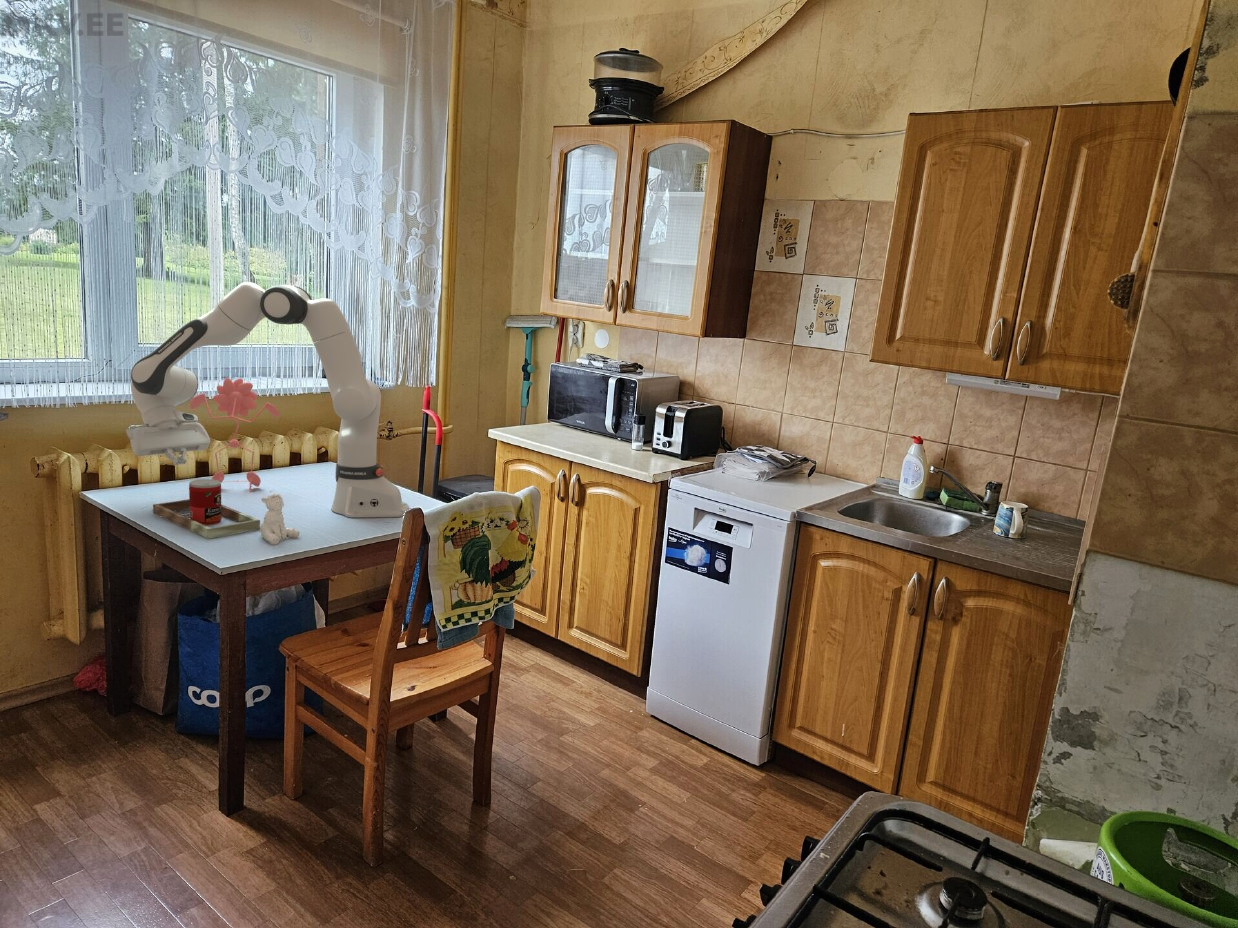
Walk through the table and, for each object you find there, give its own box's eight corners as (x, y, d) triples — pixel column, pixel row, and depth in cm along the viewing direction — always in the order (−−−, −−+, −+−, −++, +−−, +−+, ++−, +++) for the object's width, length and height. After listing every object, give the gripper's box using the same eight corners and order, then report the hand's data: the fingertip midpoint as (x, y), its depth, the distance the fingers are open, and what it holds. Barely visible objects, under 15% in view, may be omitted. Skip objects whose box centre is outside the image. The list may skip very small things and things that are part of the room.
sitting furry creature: (273, 546, 208) (273, 500, 206) (248, 539, 211) (247, 495, 209) (301, 537, 217) (301, 493, 214) (276, 531, 220) (276, 488, 217)
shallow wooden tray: (153, 513, 226) (152, 504, 226) (203, 505, 238) (203, 497, 237) (208, 538, 209) (208, 529, 209) (260, 529, 221) (260, 520, 220)
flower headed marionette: (279, 492, 257) (278, 382, 251) (188, 492, 249) (185, 378, 243) (282, 482, 271) (282, 377, 265) (196, 482, 263) (194, 373, 257)
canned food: (209, 526, 219) (208, 487, 217) (183, 522, 221) (182, 483, 218) (228, 519, 226) (227, 481, 224) (202, 515, 228) (201, 477, 226)
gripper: (127, 419, 222) (144, 461, 218) (202, 414, 238) (220, 453, 235) (120, 432, 225) (137, 474, 222) (194, 427, 242) (212, 465, 238)
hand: (180, 463), depth 228 cm, fingers closed
